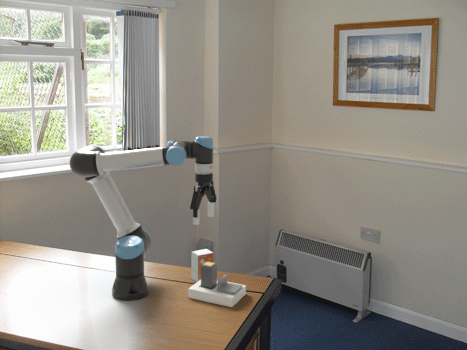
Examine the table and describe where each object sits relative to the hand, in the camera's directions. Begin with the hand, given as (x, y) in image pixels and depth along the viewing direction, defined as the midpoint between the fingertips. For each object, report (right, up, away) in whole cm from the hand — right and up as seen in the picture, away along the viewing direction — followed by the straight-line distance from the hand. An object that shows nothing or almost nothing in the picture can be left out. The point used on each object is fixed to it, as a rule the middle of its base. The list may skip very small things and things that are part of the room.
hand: (203, 220), depth 231 cm
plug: (+3, -30, -7) cm, 31 cm away
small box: (-1, -28, +9) cm, 29 cm away
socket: (+6, -31, -8) cm, 33 cm away
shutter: (+12, -27, -11) cm, 32 cm away
